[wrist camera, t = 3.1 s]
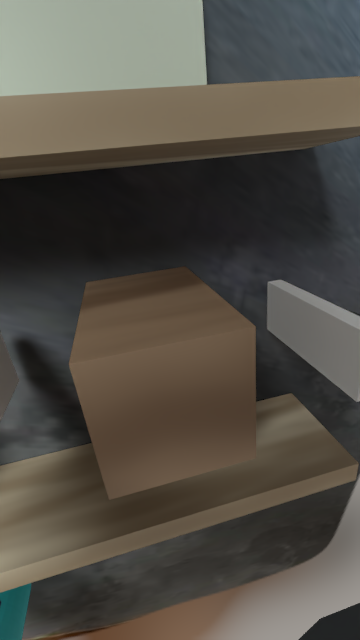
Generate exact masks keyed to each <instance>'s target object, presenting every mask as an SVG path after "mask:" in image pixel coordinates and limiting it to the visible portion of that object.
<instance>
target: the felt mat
mask: <svg viewBox="0 0 360 640" xmlns="http://www.w3.org/2000/svg"><path fill="white" fill-rule="evenodd" d="M194 85H207V75H206V57H205V39H204V21H203V4H202V0H0V96H13V95H31V94H49V93H67V92H85V91H103V90H121V89H139V88H157V87H175V86H194Z"/></svg>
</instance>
